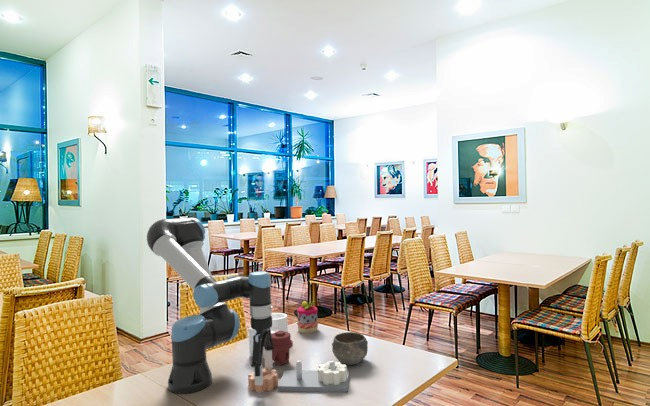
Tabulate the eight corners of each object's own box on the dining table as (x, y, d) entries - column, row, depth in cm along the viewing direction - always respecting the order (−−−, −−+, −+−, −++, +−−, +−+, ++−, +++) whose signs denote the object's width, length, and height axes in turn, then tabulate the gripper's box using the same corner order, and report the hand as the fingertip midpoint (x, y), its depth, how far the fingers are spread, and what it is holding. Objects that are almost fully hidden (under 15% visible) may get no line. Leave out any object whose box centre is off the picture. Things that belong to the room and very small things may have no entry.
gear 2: (322, 387, 137) (322, 375, 137) (315, 374, 147) (314, 363, 147) (351, 382, 140) (350, 371, 140) (341, 370, 150) (341, 359, 150)
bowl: (329, 368, 156) (328, 342, 156) (337, 353, 171) (336, 329, 171) (365, 370, 152) (364, 344, 152) (370, 355, 167) (369, 331, 167)
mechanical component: (296, 358, 167) (289, 368, 157) (273, 357, 169) (264, 367, 159) (295, 328, 166) (288, 336, 157) (272, 327, 168) (263, 335, 159)
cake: (294, 332, 199) (293, 302, 198) (302, 326, 209) (301, 297, 208) (314, 334, 195) (313, 303, 195) (321, 327, 205) (320, 298, 205)
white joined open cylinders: (267, 359, 166) (266, 330, 166) (246, 357, 169) (245, 328, 169) (291, 339, 190) (290, 313, 190) (272, 337, 193) (272, 312, 193)
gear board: (277, 390, 139) (277, 368, 139) (285, 374, 152) (284, 354, 152) (347, 392, 136) (346, 369, 136) (349, 375, 149) (348, 355, 149)
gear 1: (245, 392, 138) (244, 380, 138) (253, 378, 149) (253, 367, 149) (274, 392, 137) (273, 381, 137) (280, 379, 147) (280, 368, 147)
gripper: (262, 326, 130) (265, 392, 130) (279, 306, 155) (282, 361, 155) (239, 327, 131) (242, 392, 131) (260, 307, 155) (262, 362, 155)
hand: (264, 376), depth 143 cm, fingers open, 13 cm apart
